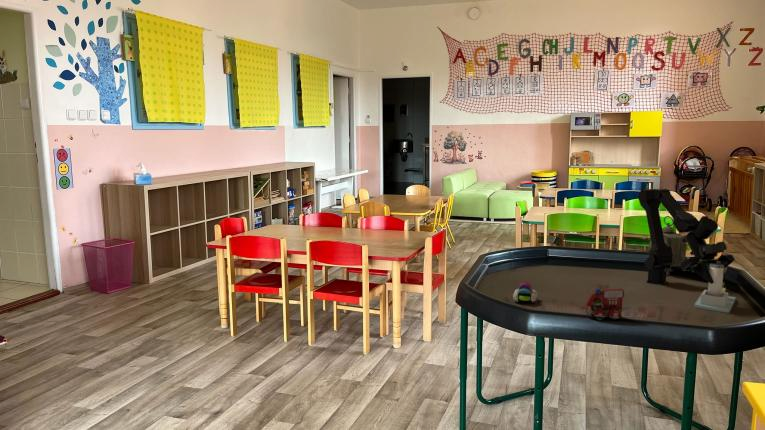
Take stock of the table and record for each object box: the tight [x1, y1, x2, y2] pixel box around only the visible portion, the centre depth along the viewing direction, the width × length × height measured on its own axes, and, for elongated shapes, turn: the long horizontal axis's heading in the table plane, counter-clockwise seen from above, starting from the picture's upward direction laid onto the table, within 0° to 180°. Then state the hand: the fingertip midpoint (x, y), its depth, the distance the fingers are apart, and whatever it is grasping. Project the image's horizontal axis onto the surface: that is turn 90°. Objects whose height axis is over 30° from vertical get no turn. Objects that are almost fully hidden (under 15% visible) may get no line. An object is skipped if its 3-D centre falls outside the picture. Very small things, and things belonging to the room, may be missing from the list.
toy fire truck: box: [585, 288, 625, 318], centre depth 206 cm, size 7×12×10 cm, turn 87°
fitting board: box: [693, 287, 737, 314], centre depth 219 cm, size 11×18×4 cm, turn 144°
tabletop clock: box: [648, 215, 687, 277], centre depth 261 cm, size 14×9×25 cm, turn 6°
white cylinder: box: [707, 263, 724, 297], centre depth 215 cm, size 4×4×13 cm
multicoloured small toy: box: [512, 281, 538, 302], centre depth 226 cm, size 8×10×7 cm
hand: (718, 282), depth 214 cm, fingers open, 4 cm apart
